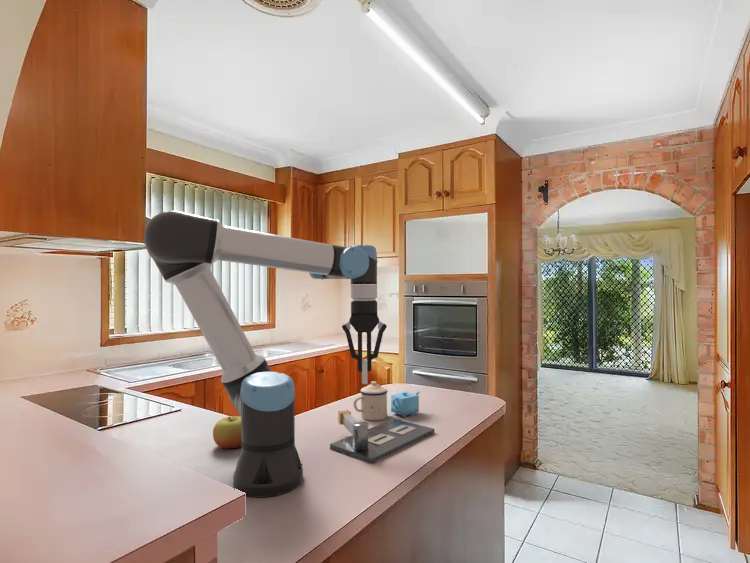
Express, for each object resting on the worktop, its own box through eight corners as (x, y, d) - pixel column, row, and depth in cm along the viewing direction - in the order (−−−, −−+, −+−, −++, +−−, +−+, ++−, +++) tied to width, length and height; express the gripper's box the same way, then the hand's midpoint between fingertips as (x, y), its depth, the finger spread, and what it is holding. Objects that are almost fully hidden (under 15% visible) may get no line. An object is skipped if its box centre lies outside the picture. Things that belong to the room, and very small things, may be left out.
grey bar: (370, 448, 110) (370, 425, 110) (355, 451, 109) (355, 427, 109) (349, 427, 127) (349, 406, 127) (336, 428, 126) (336, 408, 126)
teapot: (414, 408, 151) (414, 387, 151) (426, 412, 146) (426, 390, 146) (387, 415, 144) (387, 392, 144) (398, 419, 139) (398, 396, 139)
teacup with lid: (379, 411, 148) (379, 377, 148) (392, 418, 140) (392, 382, 140) (348, 416, 143) (347, 381, 143) (360, 424, 135) (359, 387, 135)
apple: (213, 441, 121) (212, 413, 121) (248, 437, 124) (248, 409, 124) (212, 454, 111) (212, 424, 112) (251, 449, 115) (251, 419, 115)
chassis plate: (371, 463, 105) (371, 456, 105) (330, 448, 115) (329, 442, 115) (434, 432, 126) (434, 427, 126) (394, 422, 136) (394, 417, 136)
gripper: (386, 299, 125) (386, 379, 125) (341, 299, 125) (342, 380, 125) (387, 300, 118) (388, 385, 118) (340, 300, 117) (341, 386, 117)
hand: (364, 382), depth 121 cm, fingers closed
